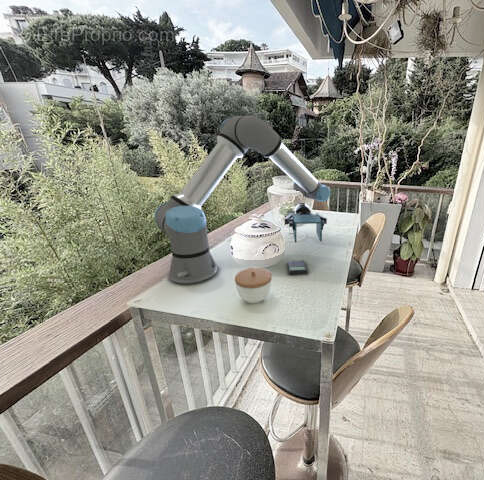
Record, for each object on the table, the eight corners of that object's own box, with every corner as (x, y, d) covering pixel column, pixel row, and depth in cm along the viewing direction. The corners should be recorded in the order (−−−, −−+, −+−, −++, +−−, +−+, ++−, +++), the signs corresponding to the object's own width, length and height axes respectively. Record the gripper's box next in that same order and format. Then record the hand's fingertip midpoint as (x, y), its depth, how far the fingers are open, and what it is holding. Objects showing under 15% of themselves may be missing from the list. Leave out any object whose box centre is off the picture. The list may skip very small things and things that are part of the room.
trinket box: (252, 312, 75) (250, 284, 72) (229, 298, 81) (226, 271, 78) (279, 296, 83) (278, 270, 80) (256, 285, 89) (255, 259, 86)
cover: (293, 233, 118) (293, 214, 115) (317, 232, 120) (318, 214, 116) (294, 242, 108) (294, 222, 105) (321, 241, 109) (322, 222, 106)
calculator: (288, 264, 105) (288, 260, 104) (304, 263, 106) (304, 260, 105) (289, 274, 97) (289, 270, 96) (306, 273, 98) (306, 270, 97)
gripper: (326, 219, 131) (335, 234, 111) (278, 220, 127) (279, 236, 107) (326, 204, 128) (336, 217, 108) (277, 205, 125) (278, 218, 104)
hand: (308, 227), depth 108 cm, fingers closed on cover, 11 cm apart
